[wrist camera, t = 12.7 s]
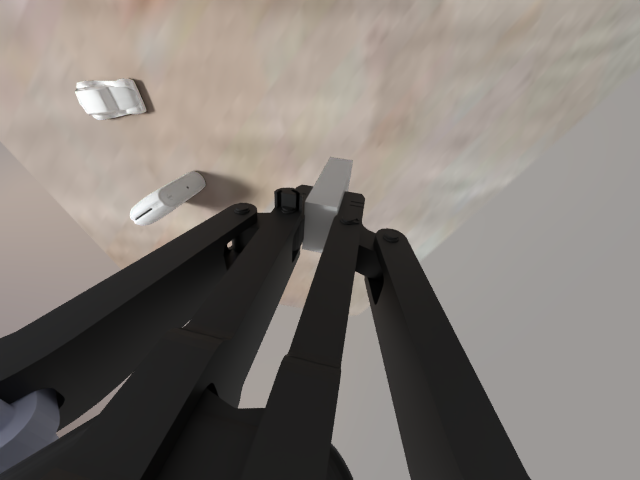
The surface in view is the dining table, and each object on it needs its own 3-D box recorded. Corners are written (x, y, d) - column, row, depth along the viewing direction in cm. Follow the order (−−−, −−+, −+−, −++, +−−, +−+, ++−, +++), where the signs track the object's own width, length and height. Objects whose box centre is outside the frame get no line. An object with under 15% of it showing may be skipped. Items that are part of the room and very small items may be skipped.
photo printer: (195, 166, 50) (148, 192, 40) (210, 184, 51) (169, 214, 42) (166, 187, 54) (117, 215, 44) (180, 203, 56) (136, 234, 46)
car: (102, 119, 48) (78, 124, 45) (81, 81, 45) (54, 83, 41) (153, 114, 46) (132, 119, 42) (135, 73, 42) (111, 75, 38)
